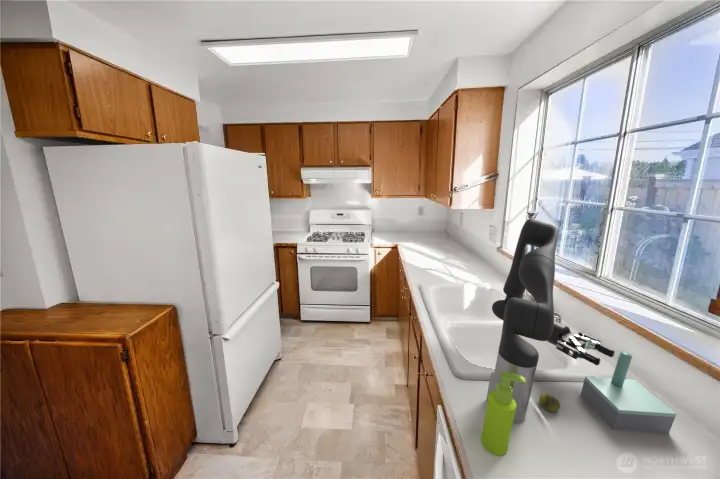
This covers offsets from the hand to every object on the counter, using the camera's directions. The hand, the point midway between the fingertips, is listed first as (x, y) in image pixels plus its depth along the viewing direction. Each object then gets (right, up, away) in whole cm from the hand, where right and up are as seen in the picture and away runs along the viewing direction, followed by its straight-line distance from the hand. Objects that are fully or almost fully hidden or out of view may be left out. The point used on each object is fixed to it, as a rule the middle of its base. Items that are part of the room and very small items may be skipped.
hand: (606, 358), depth 83 cm
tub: (+1, -14, -3) cm, 15 cm away
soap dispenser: (-39, -16, -13) cm, 44 cm away
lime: (-19, -14, -3) cm, 24 cm away
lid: (+1, -9, -5) cm, 11 cm away
